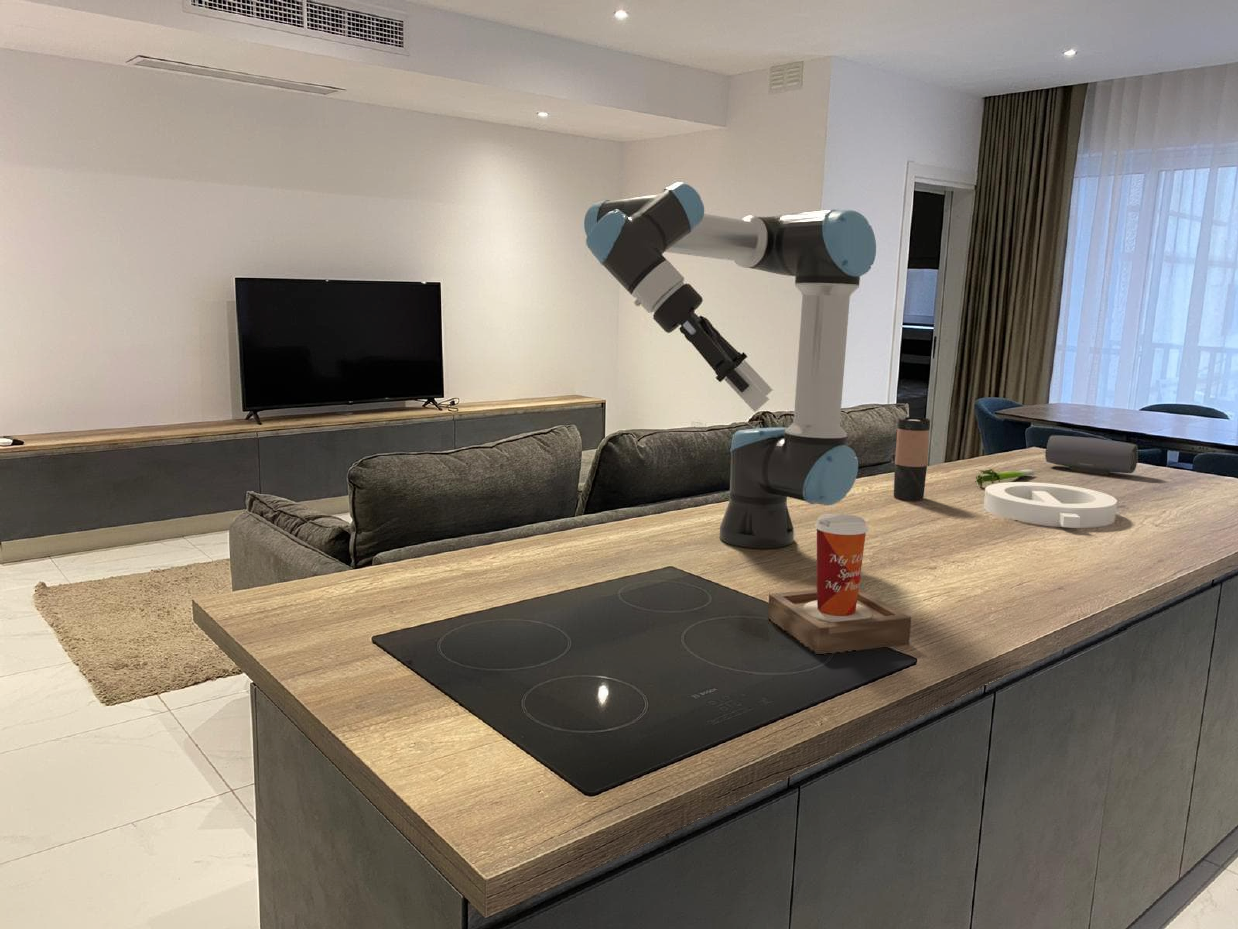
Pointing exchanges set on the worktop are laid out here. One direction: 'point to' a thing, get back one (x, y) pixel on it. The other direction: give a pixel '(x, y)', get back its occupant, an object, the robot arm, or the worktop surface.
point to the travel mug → (911, 458)
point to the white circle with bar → (1050, 504)
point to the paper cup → (839, 562)
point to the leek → (1001, 475)
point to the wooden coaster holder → (839, 623)
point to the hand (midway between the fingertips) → (764, 400)
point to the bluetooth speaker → (1092, 454)
